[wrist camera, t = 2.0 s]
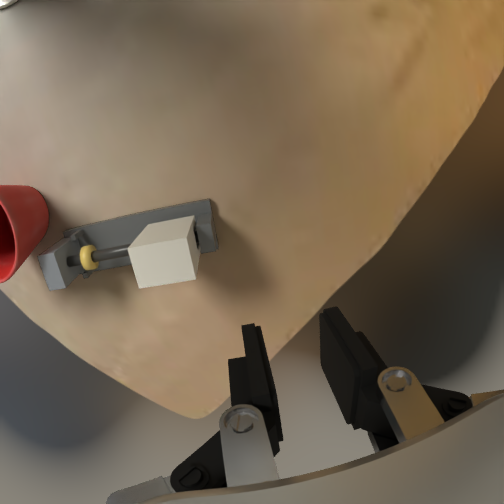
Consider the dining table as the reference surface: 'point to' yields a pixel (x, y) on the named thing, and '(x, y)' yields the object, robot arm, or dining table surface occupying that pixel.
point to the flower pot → (20, 226)
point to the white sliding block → (165, 253)
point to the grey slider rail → (117, 242)
